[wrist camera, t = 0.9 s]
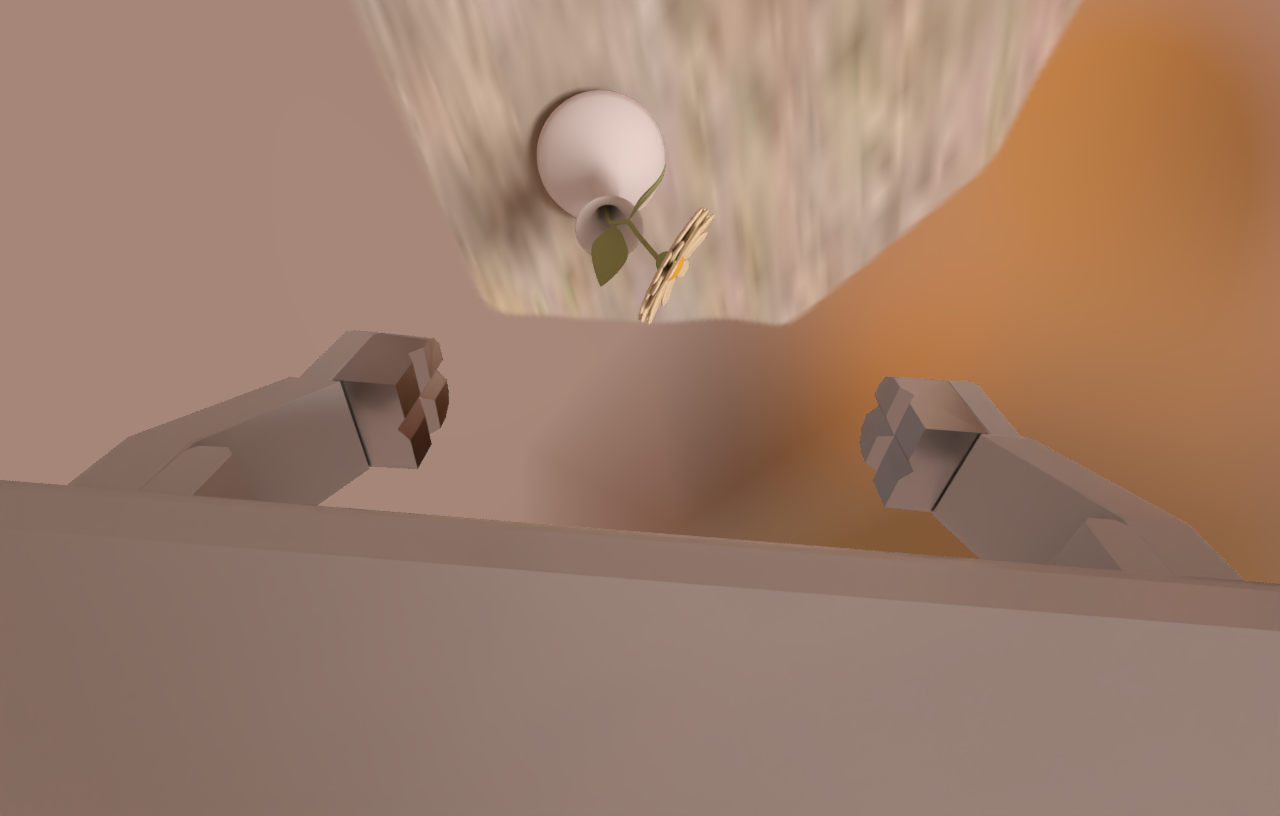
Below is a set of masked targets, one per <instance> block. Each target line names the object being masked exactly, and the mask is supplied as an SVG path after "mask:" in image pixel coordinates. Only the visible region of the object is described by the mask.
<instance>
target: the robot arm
mask: <svg viewBox="0 0 1280 816" xmlns="http://www.w3.org/2000/svg"><path fill="white" fill-rule="evenodd" d="M442 360H443V358H442V353H441V349H440V345H439V343H438V342H437V341H436V340H435V339H434V338H426V337H416V336H407V335H397V334H387V333H378V332H368V331H346V332H345V333H344V334H343V335H342V336H341V337H340V338H339V339H338V340H337V341H336V342H335V343H334V344H333V345H332V346H331V347H330V348H329V349H328V350H327V351H326V352H325V353H324V354H323V355H322V356H321V357H320V358H319V359H317V360H316V361H315V363H313V364H312V365H311V366H310V367H309V368H308V369H307V370H306V371H305V372H304V373H303V374H302V375H301V376H300V377H299V378H296V377H288V378H286V379H283V380H281V381H278V382H275V383H273V384H270V385H267V386H264V387H262V388H259V389H256V390H253V391H251V392H248V393H245V394H243V395H240V396H237V397H235V398H232V399H229V400H226V401H224V402H221V403H219V404H216V405H213V406H210V407H208V408H205V409H202V410H200V411H197V412H195V413H192V414H189V415H186V416H184V417H181V418H178V419H175V420H173V421H170V422H167V423H165V424H162V425H159V426H157V427H154V428H151V429H148V430H146V431H143V432H141V433H138V434H135V435H132V436H130V437H128V438H126V439H125V440H124V441H123V442H121V443H120V444H119V445H117V446H116V447H115V448H113V449H112V450H111V451H110V452H108V453H107V454H106V455H105V456H103V457H102V458H101V459H100V460H98V461H97V462H96V463H94V464H93V465H92V466H91V467H89V468H88V469H87V470H86V471H84V472H83V473H82V474H80V475H79V476H78V477H77V478H75V479H74V480H73V481H72V482H70V483H69V484H68V485H57V484H43V483H32V482H20V481H7V480H0V816H1280V584H1279V583H1267V582H1253V581H1245V580H1244V579H1243V578H1242V577H1241V576H1240V575H1239V574H1238V573H1237V572H1236V571H1235V570H1234V569H1233V568H1232V567H1231V566H1230V565H1229V564H1228V563H1227V562H1226V561H1225V560H1224V559H1223V558H1222V557H1221V556H1220V555H1219V554H1218V553H1217V552H1216V551H1215V550H1214V549H1213V548H1212V547H1211V546H1210V545H1209V544H1208V543H1207V542H1206V541H1205V540H1204V539H1203V538H1202V537H1201V536H1200V535H1199V534H1198V533H1197V532H1196V531H1195V530H1194V529H1193V528H1192V527H1191V526H1190V525H1189V524H1187V523H1185V522H1183V521H1182V520H1180V519H1178V518H1176V517H1174V516H1172V515H1170V514H1169V513H1167V512H1165V511H1163V510H1161V509H1160V508H1158V507H1156V506H1154V505H1152V504H1150V503H1149V502H1147V501H1145V500H1143V499H1141V498H1139V497H1137V496H1136V495H1134V494H1132V493H1130V492H1128V491H1126V490H1125V489H1123V488H1121V487H1119V486H1117V485H1116V484H1114V483H1112V482H1110V481H1108V480H1106V479H1105V478H1102V477H1101V476H1099V475H1097V474H1095V473H1093V472H1092V471H1090V470H1088V469H1086V468H1084V467H1083V466H1081V465H1079V464H1077V463H1075V462H1073V461H1072V460H1070V459H1068V458H1066V457H1064V456H1062V455H1060V454H1059V453H1057V452H1055V451H1053V450H1051V449H1050V448H1048V447H1046V446H1044V445H1042V444H1040V443H1039V442H1037V441H1035V440H1033V439H1031V438H1025V437H1021V436H1020V435H1019V434H1018V433H1017V431H1016V430H1015V429H1014V428H1013V427H1012V425H1011V424H1010V423H1009V422H1008V421H1007V419H1006V418H1005V417H1004V416H1003V415H1002V413H1001V412H1000V411H999V410H998V409H997V407H996V406H995V405H994V404H993V402H992V401H991V400H990V399H989V398H988V396H987V395H986V394H985V393H984V392H983V390H982V389H981V388H980V387H979V386H978V384H975V383H973V382H971V381H959V380H937V379H936V380H935V379H919V378H902V377H885V378H884V379H883V381H882V382H881V383H880V384H879V386H878V389H877V391H876V393H875V397H876V400H877V402H878V405H879V406H877V407H876V408H875V409H873V410H872V411H871V412H869V413H868V414H867V415H866V417H865V420H864V422H863V425H862V428H861V435H860V447H861V453H862V456H863V458H864V461H865V463H866V464H868V465H869V466H870V467H871V468H873V469H874V470H875V471H877V472H876V474H875V476H874V479H873V482H874V484H875V486H876V489H877V491H878V493H879V495H880V498H881V500H882V502H883V505H884V507H889V508H898V509H906V510H916V511H925V512H933V513H932V515H933V516H934V517H935V518H936V519H938V520H939V521H940V522H941V523H942V524H943V525H944V526H945V527H946V528H947V529H948V530H949V531H950V532H951V533H953V534H954V535H955V536H956V537H957V538H958V539H959V540H960V541H961V542H962V543H963V544H965V545H966V546H967V547H968V548H969V549H970V550H971V551H972V552H973V553H974V554H975V555H976V556H977V557H979V558H980V559H969V558H955V557H944V556H932V555H919V554H906V553H895V552H882V551H870V550H858V549H845V548H833V547H821V546H808V545H797V544H785V543H784V544H783V543H772V542H759V541H748V540H735V539H723V538H710V537H696V536H683V535H672V534H659V533H647V532H634V531H622V530H610V529H598V528H586V527H573V526H561V525H548V524H536V523H523V522H511V521H499V520H486V519H475V518H463V517H450V516H437V515H426V514H413V513H401V512H389V511H376V510H364V509H352V508H339V507H327V506H317V505H318V504H320V503H321V502H323V501H324V500H325V499H327V498H328V497H330V496H331V495H333V494H334V493H335V492H337V491H338V490H340V489H341V488H343V487H344V486H346V485H347V484H348V483H350V482H351V481H353V480H354V479H355V478H357V477H358V476H360V475H361V474H363V473H364V472H366V471H367V470H368V469H369V466H370V467H388V468H408V469H418V467H419V466H420V464H421V462H422V460H423V459H424V457H425V455H426V453H427V452H428V450H429V448H430V446H431V444H432V443H431V439H430V434H431V433H433V432H434V431H436V430H438V429H439V428H441V426H442V424H443V422H444V420H445V418H446V414H447V410H448V405H449V390H448V384H447V380H446V379H445V378H444V376H443V375H442V374H441V373H440V372H439V371H438V370H437V368H438V367H439V365H440V363H441V362H442Z"/></svg>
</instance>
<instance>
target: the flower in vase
mask: <svg viewBox="0 0 1280 816" xmlns="http://www.w3.org/2000/svg"><path fill="white" fill-rule="evenodd" d="M537 165H538V171H539V174H540V177H541V180H542V183H543V185H544V187H545V189H546V190H547V192H548V193H549V195H550V196H551V198H552V199H553V200H554V201H555V202H556V203H557V204H558V205H559V206H560V207H561V208H562V209H563V210H565V211H566V212H567V213H569V214H571V215H572V216H574V217H576V218H577V219H576V224H575V232H576V237H577V240H578V242H579V243H580V245H581V246H582V248H583V249H584V250H585V251H586V252H588V253H589V254H590V255H592V261H593V266H594V270H595V273H596V276H597V279H598V282H599V284H600V286H603V285H604V284H605V283H607V282H608V281H609V280H610V279H611V278H612V277H613V276H614V275H615V274H616V273H617V272H618V271H619V270H620V269H621V267H622V266H623V265H624V263H625V261H626V259H627V257H628V254H629V253H631V252H632V251H633V250H634V249H635V248H636V247H637V246H638V244H639V242H641V243H642V244H643V245H644V247H645V248H646V249H647V250H648V251H649V253H650V254H651V255H652V256H653V257H654V258H655V259H656V267H657V269H658V270H657V272H656V274H655V276H654V278H653V280H652V283H651V284H650V286H649V288H648V290H647V293H646V295H645V298H644V300H643V302H642V305H641V308H640V313H639V318H638V319H639V320H641V323H643V322H644V320H645V318H646V320H648V324H650V323H651V322H652V320H653V318H654V316H655V314H656V311H657V309H658V306H659V304H660V301H661V305H662V306H664V305H665V304H666V303H667V301H668V299H669V297H670V294H671V290H672V286H673V285H674V283H675V280H676V277H677V278H681V277H683V276H684V275H685V273H686V272H687V270H688V268H689V262H688V260H686V259H687V258H689V257H690V256H691V254H692V253H693V251H694V250H695V249H696V248H697V247H698V246H699V245H700V244H701V243H702V242H703V240H704V239H705V237H706V235H707V231H705V232H703V231H704V230H705V229H706V227H707V226H708V225H709V224H710V222H711V221H712V219H713V217H714V214H712V215H707V213H708V211H709V209H707V210H706V208H704V209H703V208H700V209H699V210H698V211H697V212H696V213H695V214H694V216H693V217H692V218H691V219H690V221H689V222H688V224H687V225H686V226H685V227H684V229H683V230H682V231H681V233H680V234H679V235H678V237H677V238H676V240H675V241H674V243H673V244H672V246H671V248H670V250H669V251H666V252H663V253H661V254H659V255H658V254H657V253H656V252H655V251H654V250H653V248H652V247H651V246H650V245H649V244H648V243H647V241H646V240H645V239H644V238H643V237H642V235H643V229H644V227H643V220H642V217H641V214H640V212H639V211H640V210H641V209H642V208H643V207H644V206H645V205H646V204H647V203H648V202H649V201H650V199H651V198H652V197H653V195H654V194H655V192H656V190H657V189H658V187H659V185H660V182H661V180H662V178H663V176H664V172H665V167H666V164H665V147H664V142H663V138H662V135H661V132H660V130H659V128H658V126H657V124H656V122H655V120H654V119H653V118H652V116H651V115H650V114H649V112H648V111H647V110H646V109H645V108H644V107H643V106H642V105H640V104H639V103H638V102H636V101H635V100H633V99H631V98H629V97H628V96H626V95H623V94H620V93H618V92H613V91H607V90H594V91H587V92H583V93H580V94H577V95H575V96H572V97H571V98H569V99H567V100H566V101H564V102H563V103H562V104H560V105H559V106H558V107H557V108H556V109H555V110H554V111H553V112H552V113H551V115H550V116H549V117H548V119H547V120H546V122H545V124H544V126H543V128H542V130H541V133H540V136H539V140H538V145H537ZM706 215H707V216H706ZM702 232H703V233H702Z"/></svg>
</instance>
